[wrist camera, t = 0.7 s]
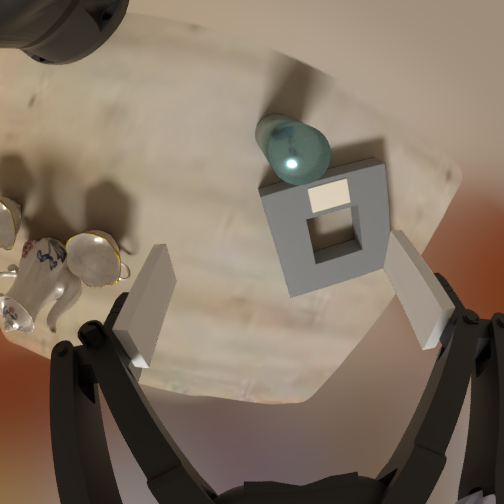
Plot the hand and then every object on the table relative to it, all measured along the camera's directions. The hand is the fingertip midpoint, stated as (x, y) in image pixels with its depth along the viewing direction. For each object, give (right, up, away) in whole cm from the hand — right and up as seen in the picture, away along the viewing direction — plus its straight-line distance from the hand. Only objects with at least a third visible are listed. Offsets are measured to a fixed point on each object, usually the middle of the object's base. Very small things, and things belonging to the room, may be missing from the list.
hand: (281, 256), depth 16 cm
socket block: (+9, +4, +22) cm, 24 cm away
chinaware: (-32, +2, +20) cm, 38 cm away
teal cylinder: (+1, +14, +15) cm, 21 cm away
